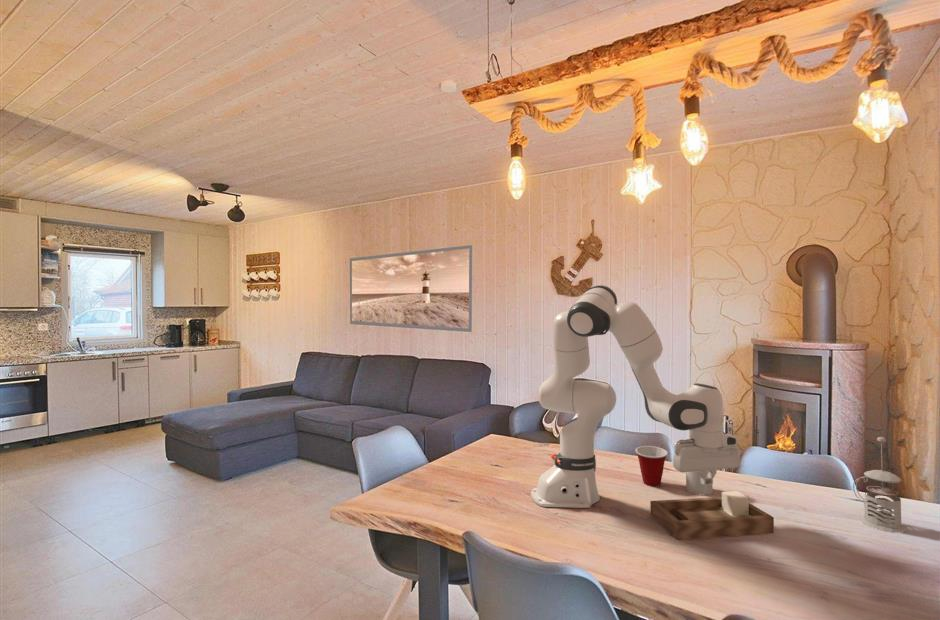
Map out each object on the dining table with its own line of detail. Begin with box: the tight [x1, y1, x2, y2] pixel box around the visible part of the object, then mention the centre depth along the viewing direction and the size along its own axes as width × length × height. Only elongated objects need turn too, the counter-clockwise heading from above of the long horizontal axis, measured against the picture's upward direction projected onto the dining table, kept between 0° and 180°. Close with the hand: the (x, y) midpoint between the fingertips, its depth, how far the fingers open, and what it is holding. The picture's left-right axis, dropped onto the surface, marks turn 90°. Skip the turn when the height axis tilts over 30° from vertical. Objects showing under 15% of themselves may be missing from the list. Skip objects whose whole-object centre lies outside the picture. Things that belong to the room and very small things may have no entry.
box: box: [649, 496, 775, 541], centre depth 135 cm, size 28×15×4 cm, turn 95°
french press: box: [852, 436, 907, 533], centre depth 134 cm, size 10×12×25 cm
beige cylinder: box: [685, 470, 714, 496], centre depth 160 cm, size 8×8×12 cm
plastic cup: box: [634, 445, 669, 487], centre depth 167 cm, size 11×11×12 cm
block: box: [721, 490, 750, 516], centre depth 138 cm, size 5×5×5 cm
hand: (706, 483), depth 140 cm, fingers closed
